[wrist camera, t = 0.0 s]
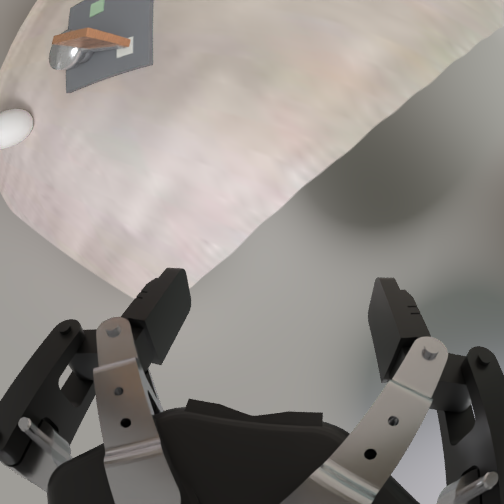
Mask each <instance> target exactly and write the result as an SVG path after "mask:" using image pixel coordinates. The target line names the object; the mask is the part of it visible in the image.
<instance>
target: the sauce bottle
mask: <svg viewBox="0 0 504 504" xmlns="http://www.w3.org/2000/svg"><path fill="white" fill-rule="evenodd" d="M32 128H33V118H32V117H31V114H30V113H29V112H27V111H25V110H22V109H10V110H6V111H3V112H1V113H0V149H5V148H9V147H12V146H14V145H16V144H18V143H20V142H22V141H23V140H24V139H25V138H26V137H27V136H28V135H29V134H30V132H31V130H32Z"/></svg>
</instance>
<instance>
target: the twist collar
mask: <svg viewBox="0 0 504 504" xmlns="http://www.w3.org/2000/svg"><path fill="white" fill-rule="evenodd" d="M130 41H131V40H130V39H128V38H125V37H122V36H118V35H114V34H111V33H107V32H104V31H100V30H96V29H92V28H83V29H79V30H66V31H64V32H63V33H61V34H60V35H56V36H54V38H53V42H52V44H53V45H52V47H51V50H50V55H49V62H50V65H51V67H52V68H53V69H56V70H71V69H74V68H75V67H77V66H78V65H79V64H80V63H81V61H82V60H83V59H84V57H85V55H86V53H88V52H95V51H103V50H112V49H124V48H126V47H129V45H130Z"/></svg>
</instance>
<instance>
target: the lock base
mask: <svg viewBox="0 0 504 504" xmlns="http://www.w3.org/2000/svg"><path fill="white" fill-rule="evenodd" d="M83 28H92V29H96V30H100V31H104V32H107V33H111V34H114V35H118V36H122V37H125V38H128V39H130V40H131V41H130V45H129V47H126V48H124V49H112V50H103V51H95V52H88V53H86V55H85V57H84V59H83V60H82V61H81V63H80V64H79V65H78V66H77V67H75V68H74V69H71V70H66V93H71V92H74V91H76V90H78V89H81V88H83V87H86V86H88V85H91V84H94V83H96V82H99V81H102V80H104V79H107V78H110V77H113V76H116V75H119V74H122V73H125V72H129V71H132V70H135V69H139V68H142V67H146V66H150V65H153V0H84V1H82V2H81V3H79V4H77V5H75V6H74V7H72V8H71V9H70V16H69V26H68V30H79V29H83Z"/></svg>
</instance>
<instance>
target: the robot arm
mask: <svg viewBox="0 0 504 504" xmlns="http://www.w3.org/2000/svg"><path fill="white" fill-rule="evenodd" d="M190 307H191V296H190V291H189V286H188V280H187V275H186V271H185V270H184V269H180V268H166V269H165V271H164V272H163V273H162V274H161V276H160V277H159V278H155V279H154V280H152V281H151V282H149V283H148V284H146V286H145V287H144V288H143V289H142V291H141V292H140V293H139V294H138V296H137V298H135V299H134V301H133V302H132V303H131V304H130V306H129V307H128V308H127V309H126V311H125V312H124V313H123V315H122V316H121V317H113V318H110V319H107V320H105V321H104V322H102V323H101V324H100V325H99V327H98V328H97V329H96V330H83V329H82V327H81V325H80V323H79V322H78V321H77V320H73V319H70V320H65V321H63V322H61V323H59V324H58V325H57V326H56V327H55V328H54V329H53V330H52V331H51V333H50V334H49V335H48V336H47V338H46V339H45V340H44V341H43V343H42V344H41V345H40V346H39V348H38V349H37V350H36V352H35V353H34V354H33V356H32V357H31V358H30V360H29V361H28V362H27V364H26V365H25V366H24V368H23V369H22V370H21V372H20V373H19V375H18V376H17V377H16V379H15V380H14V382H13V383H12V385H11V386H10V387H9V389H8V391H7V392H6V393H5V395H4V397H3V398H2V399H1V401H0V461H1V462H2V463H3V464H4V465H5V466H7V467H8V468H9V469H11V470H12V471H14V472H15V473H17V474H18V475H20V476H21V477H23V478H25V479H27V480H29V481H30V482H32V483H34V484H35V485H37V486H38V487H40V488H41V489H43V490H44V491H46V492H47V497H48V504H420V503H419V502H417V501H416V500H415V499H414V498H413V497H412V496H411V495H410V494H409V493H408V492H407V491H406V490H405V489H404V488H403V487H402V486H401V485H400V484H399V483H398V482H397V481H396V480H395V479H394V478H393V477H392V476H391V473H392V472H393V471H394V469H395V468H396V466H397V465H398V463H399V461H400V460H401V458H402V457H403V455H404V454H405V452H406V450H407V448H408V447H409V445H410V443H411V442H412V440H413V438H414V436H415V435H416V433H417V431H418V429H419V427H420V425H421V424H422V422H423V420H424V418H425V416H426V414H427V412H428V410H429V409H435V410H437V413H438V418H439V424H440V430H441V437H442V444H443V451H444V459H445V470H446V484H447V486H446V487H445V488H444V489H443V491H442V492H441V494H440V495H439V498H438V501H437V504H504V375H503V373H502V370H501V368H500V366H499V363H498V361H497V359H496V357H495V355H494V354H493V353H492V352H491V351H489V350H488V349H487V348H484V347H480V346H477V347H474V348H472V349H470V350H469V352H468V354H467V356H461V355H455V354H450V353H448V351H447V348H446V346H445V345H444V344H443V343H442V342H441V341H439V340H437V339H436V338H433V337H431V336H430V333H429V331H428V329H427V326H426V324H425V322H424V320H423V318H422V315H421V314H420V311H419V309H418V308H417V305H416V303H415V301H414V298H413V297H412V296H411V295H410V294H409V293H408V292H407V291H406V290H400V289H399V286H398V284H397V282H396V280H395V279H394V278H376V280H375V284H374V288H373V293H372V297H371V301H370V305H369V311H368V322H369V326H370V330H371V335H372V339H373V343H374V348H375V353H376V357H377V362H378V367H379V372H380V378H381V383H385V382H388V383H387V385H386V386H385V388H384V389H383V391H382V392H381V394H380V395H379V397H378V398H377V399H376V401H375V402H374V403H373V405H372V406H371V408H370V409H369V410H368V412H367V413H366V414H365V416H364V417H363V418H362V420H361V421H360V422H359V423H358V425H357V426H356V427H355V428H354V430H353V431H352V432H351V433H350V434H349V433H348V432H346V431H345V430H343V429H341V428H339V427H337V426H335V425H332V424H329V423H326V422H322V417H323V415H322V414H323V413H313V412H283V413H275V414H268V415H259V416H251V415H248V414H245V413H242V412H239V411H236V410H233V409H231V408H228V407H225V406H223V405H220V404H215V403H209V402H204V401H198V400H193V399H189V400H188V403H187V405H186V407H181V408H174V409H170V410H166V411H163V408H162V406H161V403H160V400H159V398H158V395H157V392H156V389H155V386H154V383H153V380H152V377H151V373H150V371H149V369H148V367H149V366H150V364H151V363H155V364H159V365H161V364H162V363H163V361H164V359H165V357H166V355H167V353H168V351H169V349H170V347H171V345H172V344H173V342H174V340H175V338H176V336H177V334H178V332H179V330H180V328H181V326H182V325H183V323H184V321H185V319H186V317H187V315H188V313H189V311H190ZM68 364H69V366H70V368H71V369H72V373H71V375H70V376H69V378H68V379H67V381H66V382H65V384H64V386H63V387H62V389H61V390H60V388H59V385H58V382H59V378H60V376H61V375H62V373H63V371H64V370H65V368H66V367H67V365H68ZM95 395H96V402H97V408H98V415H99V421H100V426H101V432H102V437H103V442H104V443H103V444H101V445H99V446H97V447H95V448H93V449H91V450H89V451H87V452H85V453H83V454H81V455H79V456H77V457H75V458H72V456H71V455H70V454H71V450H70V444H71V442H72V440H73V438H74V435H75V433H76V432H77V429H78V427H79V425H80V424H81V421H82V419H83V418H84V416H85V414H86V412H87V410H88V408H89V406H90V404H91V402H92V400H93V399H94V396H95ZM471 403H472V406H473V410H474V414H475V418H474V414H473V410H472V406H471Z"/></svg>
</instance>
